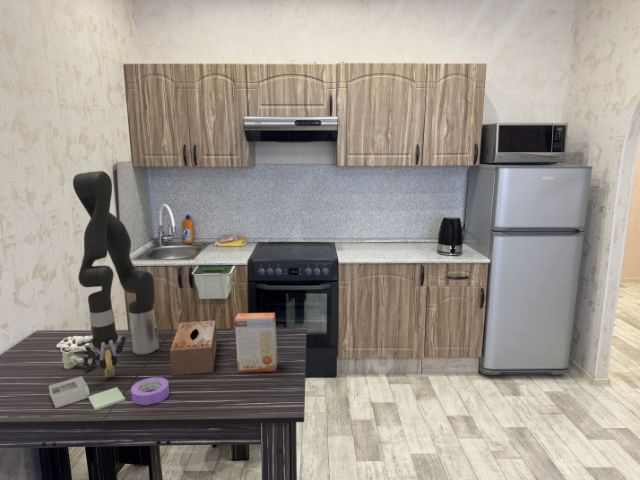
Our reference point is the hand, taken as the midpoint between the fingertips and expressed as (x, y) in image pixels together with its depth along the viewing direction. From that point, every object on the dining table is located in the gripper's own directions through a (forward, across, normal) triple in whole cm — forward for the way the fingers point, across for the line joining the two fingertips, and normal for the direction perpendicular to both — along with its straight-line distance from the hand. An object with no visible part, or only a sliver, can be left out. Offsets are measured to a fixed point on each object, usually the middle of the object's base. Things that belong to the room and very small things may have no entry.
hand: (108, 366), depth 161 cm
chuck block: (+4, +14, +3) cm, 15 cm away
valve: (+5, +7, -16) cm, 18 cm away
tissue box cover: (+6, -30, +5) cm, 31 cm away
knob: (+3, 0, 0) cm, 3 cm away
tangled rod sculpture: (+5, +2, -36) cm, 36 cm away
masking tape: (+5, -7, +21) cm, 23 cm away
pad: (+4, +5, +14) cm, 15 cm away
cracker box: (+5, -44, +29) cm, 53 cm away
